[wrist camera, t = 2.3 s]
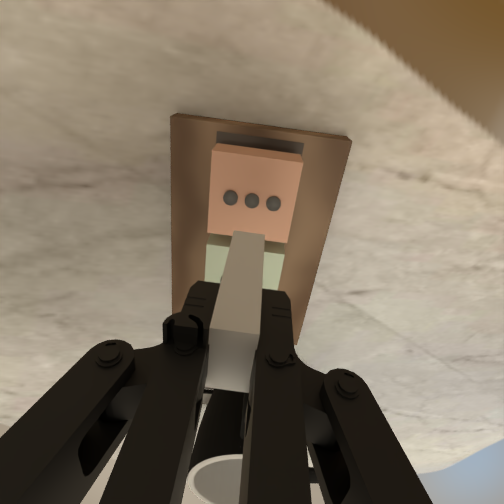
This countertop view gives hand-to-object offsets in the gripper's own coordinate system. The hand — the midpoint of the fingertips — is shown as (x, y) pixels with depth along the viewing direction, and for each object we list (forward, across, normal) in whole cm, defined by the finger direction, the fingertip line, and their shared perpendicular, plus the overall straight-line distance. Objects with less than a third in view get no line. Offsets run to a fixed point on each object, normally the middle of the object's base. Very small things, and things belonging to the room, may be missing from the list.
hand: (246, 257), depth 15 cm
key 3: (+10, 0, 0) cm, 10 cm away
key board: (+14, 0, -7) cm, 16 cm away
